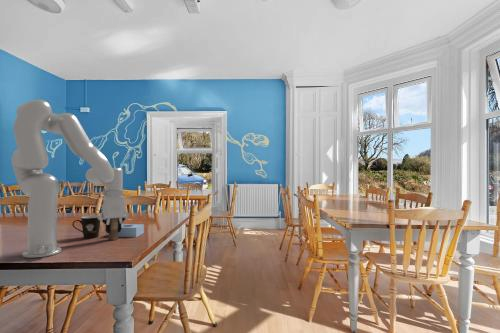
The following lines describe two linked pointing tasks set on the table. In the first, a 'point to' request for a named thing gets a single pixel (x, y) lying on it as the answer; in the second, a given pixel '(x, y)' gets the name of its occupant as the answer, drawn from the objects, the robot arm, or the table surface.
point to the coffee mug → (89, 226)
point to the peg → (113, 229)
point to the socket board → (131, 230)
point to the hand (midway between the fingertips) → (113, 232)
